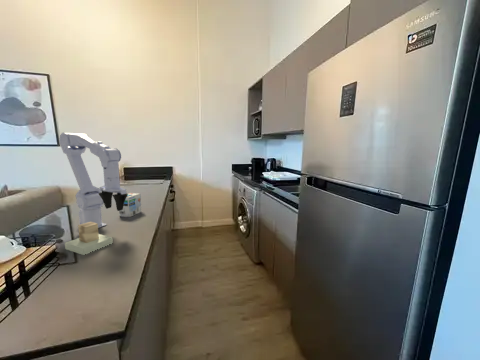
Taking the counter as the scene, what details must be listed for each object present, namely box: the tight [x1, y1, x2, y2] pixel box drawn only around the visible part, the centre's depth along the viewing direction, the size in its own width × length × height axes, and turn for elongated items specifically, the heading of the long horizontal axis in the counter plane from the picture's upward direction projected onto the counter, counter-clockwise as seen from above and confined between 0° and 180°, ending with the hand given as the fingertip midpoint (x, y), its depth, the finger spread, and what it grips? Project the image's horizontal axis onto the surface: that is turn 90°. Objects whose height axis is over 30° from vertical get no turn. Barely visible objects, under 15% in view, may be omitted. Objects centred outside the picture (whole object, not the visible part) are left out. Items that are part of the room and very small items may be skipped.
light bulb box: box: [118, 192, 142, 218], centre depth 131 cm, size 11×7×11 cm, turn 168°
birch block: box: [77, 222, 100, 243], centre depth 90 cm, size 4×4×6 cm
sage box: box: [64, 233, 114, 256], centre depth 90 cm, size 11×11×3 cm
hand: (114, 209), depth 103 cm, fingers open, 7 cm apart
